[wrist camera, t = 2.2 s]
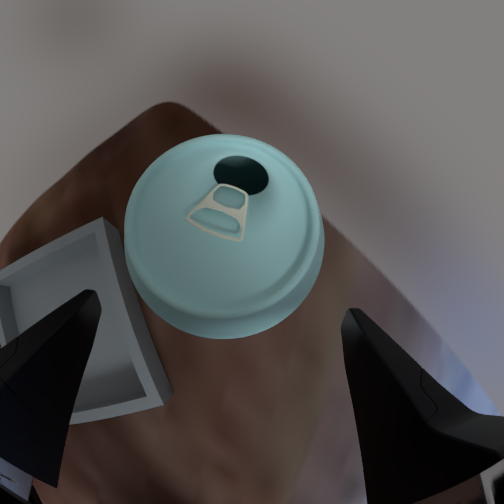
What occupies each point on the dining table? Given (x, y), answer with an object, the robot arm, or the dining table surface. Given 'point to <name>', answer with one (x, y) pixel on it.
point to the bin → (110, 324)
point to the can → (223, 236)
